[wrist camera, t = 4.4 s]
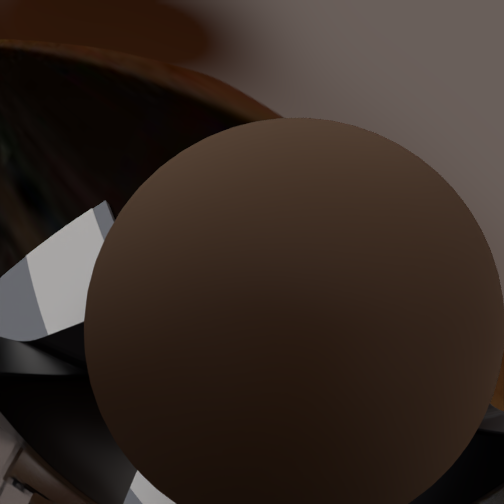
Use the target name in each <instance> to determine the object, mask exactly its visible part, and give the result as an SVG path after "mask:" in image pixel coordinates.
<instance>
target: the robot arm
mask: <svg viewBox="0 0 504 504" xmlns="http://www.w3.org/2000/svg"><path fill="white" fill-rule="evenodd" d="M136 472H137V469H136V468H135V467H134V466H133V465H132V464H131V462H130V461H129V460H128V458H127V457H126V456H125V454H124V453H123V452H122V450H121V449H120V447H119V446H118V445H117V443H116V442H115V440H114V438H113V436H112V434H111V433H110V431H109V429H108V427H107V425H106V423H105V421H104V419H103V417H102V415H101V413H100V410H99V407H98V405H97V402H96V399H95V396H94V393H93V390H92V387H91V384H90V379H89V373H88V368H87V362H86V356H85V343H84V321H83V322H81V323H78V324H76V325H73V326H71V327H68V328H65V329H63V330H60V331H58V332H55V333H52V334H50V335H47V336H45V337H42V338H39V339H36V340H31V341H16V340H11V339H7V338H4V337H0V504H123V503H124V501H125V498H126V496H127V494H128V491H129V489H130V486H131V484H132V482H133V479H134V477H135V475H136ZM408 504H504V412H503V411H501V410H499V409H497V408H495V407H494V406H492V405H491V404H489V406H488V409H487V411H486V413H485V416H484V418H483V420H482V422H481V424H480V426H479V427H478V429H477V431H476V433H475V434H474V436H473V438H472V439H471V441H470V443H469V444H468V446H467V447H466V448H465V450H464V451H463V452H462V454H461V455H460V456H459V457H458V459H457V460H456V461H455V462H454V464H453V465H452V466H451V467H450V468H449V469H448V470H447V471H446V472H445V473H444V474H443V475H442V476H441V477H440V478H439V479H438V480H437V481H436V482H435V483H434V484H433V485H432V486H431V487H430V488H428V489H427V490H426V491H425V492H423V493H422V494H421V495H419V496H418V497H417V498H415V499H414V500H413V501H411V502H410V503H408Z"/></svg>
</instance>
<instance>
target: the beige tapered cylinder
mask: <svg viewBox="0 0 504 504" xmlns="http://www.w3.org/2000/svg"><path fill="white" fill-rule="evenodd" d="M84 343H85V356H86V362H87V368H88V373H89V379H90V384H91V387H92V390H93V393H94V396H95V399H96V402H97V405H98V407H99V410H100V413H101V415H102V417H103V419H104V421H105V423H106V425H107V427H108V429H109V431H110V433H111V434H112V436H113V438H114V440H115V442H116V443H117V445H118V446H119V447H120V449H121V450H122V452H123V453H124V454H125V456H126V457H127V458H128V460H129V461H130V462H131V464H132V465H133V466H134V467H135V468H136V469H137V470H138V471H139V473H140V474H141V475H142V476H143V477H144V478H145V479H146V480H147V481H149V482H150V483H151V484H152V485H153V486H154V487H155V488H156V489H157V490H158V491H160V492H161V493H162V494H164V495H165V496H166V497H168V498H169V499H170V500H172V501H173V502H175V503H176V504H408V503H410V502H411V501H413V500H414V499H415V498H417V497H418V496H419V495H421V494H422V493H423V492H425V491H426V490H427V489H428V488H430V487H431V486H432V485H433V484H434V483H435V482H436V481H437V480H438V479H439V478H440V477H441V476H442V475H443V474H444V473H445V472H446V471H447V470H448V469H449V468H450V467H451V466H452V465H453V464H454V462H455V461H456V460H457V459H458V457H459V456H460V455H461V454H462V452H463V451H464V450H465V448H466V447H467V446H468V444H469V443H470V441H471V439H472V438H473V436H474V434H475V433H476V431H477V429H478V427H479V426H480V424H481V422H482V420H483V418H484V416H485V413H486V411H487V409H488V406H489V404H490V402H491V399H492V397H493V393H494V390H495V387H496V383H497V380H498V376H499V373H500V367H501V361H502V355H503V349H504V305H503V296H502V291H501V285H500V280H499V275H498V272H497V269H496V265H495V262H494V259H493V256H492V253H491V250H490V248H489V246H488V243H487V241H486V239H485V237H484V235H483V232H482V230H481V228H480V227H479V225H478V223H477V222H476V220H475V218H474V216H473V215H472V213H471V212H470V210H469V208H468V207H467V206H466V204H465V203H464V202H463V200H462V199H461V198H460V197H459V195H458V194H457V193H456V191H455V190H454V189H453V188H452V187H451V186H450V185H449V184H448V183H447V182H446V181H445V180H444V179H443V178H442V177H441V176H440V175H439V174H438V173H437V172H436V171H435V170H434V169H433V168H431V167H430V166H429V165H428V164H426V163H425V162H424V161H423V160H422V159H420V158H419V157H418V156H416V155H414V154H413V153H411V152H410V151H408V150H407V149H405V148H403V147H402V146H400V145H399V144H397V143H395V142H393V141H391V140H389V139H387V138H385V137H383V136H380V135H378V134H376V133H373V132H370V131H367V130H365V129H362V128H359V127H356V126H353V125H348V124H344V123H340V122H335V121H329V120H321V119H311V118H279V119H271V120H264V121H257V122H252V123H248V124H245V125H241V126H237V127H233V128H230V129H227V130H225V131H222V132H220V133H217V134H215V135H212V136H210V137H207V138H205V139H203V140H201V141H200V142H198V143H196V144H194V145H192V146H191V147H189V148H187V149H185V150H183V151H182V152H180V153H179V154H178V155H176V156H175V157H174V158H172V159H171V160H169V161H168V162H167V163H165V164H164V165H163V166H161V167H160V168H159V169H158V170H157V171H156V172H155V173H154V174H153V175H152V176H151V177H150V178H149V179H147V180H146V181H145V182H144V183H143V184H142V185H141V186H140V187H139V189H138V190H137V191H136V192H135V194H134V195H133V196H132V197H131V198H130V200H129V201H128V202H127V204H126V205H125V206H124V207H123V209H122V210H121V212H120V213H119V215H118V217H117V218H116V220H115V222H114V223H113V225H112V227H111V228H110V230H109V232H108V233H107V236H106V238H105V240H104V242H103V245H102V247H101V249H100V252H99V254H98V257H97V259H96V261H95V265H94V268H93V272H92V276H91V280H90V283H89V287H88V292H87V299H86V308H85V317H84Z"/></svg>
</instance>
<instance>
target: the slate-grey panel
mask: <svg viewBox="0 0 504 504" xmlns="http://www.w3.org/2000/svg"><path fill="white" fill-rule="evenodd" d="M114 222H115V218H114V216H113V213H112V211H111V208H110V206H109V204H108V203H107V202H106V201H104V202H102V203H101V204H99V205H98V206H96V207H95V208H93V209H90V210H89V211H87V212H86V213H84V214H83V215H81V216H80V217H78V218H77V219H75V220H74V221H72V222H71V223H69V224H68V225H67V226H65V227H64V228H62V229H61V230H60V231H58V232H57V233H55V234H54V235H53V236H51V237H50V238H49V239H47V240H46V241H44V242H43V243H42V244H40V245H39V246H38V247H37V248H35V249H34V250H33V251H31V252H30V253H29V254H28V255H26V257H25V258H24V259H22V260H21V261H20V262H19V263H17V264H16V265H15V266H14V267H13V268H11V269H10V270H9V271H8V272H7V273H5V274H4V275H3V276H2V277H1V278H0V337H4V338H7V339H11V340H16V341H31V340H36V339H39V338H42V337H45V336H47V335H50V334H52V333H55V332H58V331H60V330H63V329H65V328H68V327H71V326H73V325H76V324H78V323H81V322H83V321H84V317H85V308H86V299H87V292H88V287H89V283H90V280H91V276H92V272H93V268H94V265H95V261H96V259H97V257H98V254H99V252H100V249H101V247H102V245H103V242H104V240H105V238H106V236H107V233H108V232H109V230H110V228H111V227H112V225H113V223H114ZM123 504H176V503H175V502H173V501H172V500H170V499H169V498H168V497H166V496H165V495H164V494H162V493H161V492H160V491H158V490H157V489H156V488H155V487H154V486H153V485H152V484H151V483H150V482H149V481H147V480H146V479H145V478H144V477H143V476H142V475H141V474H140V473H139V471H138V470H137V472H136V475H135V477H134V479H133V482H132V484H131V486H130V489H129V491H128V494H127V496H126V498H125V501H124V503H123Z"/></svg>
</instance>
